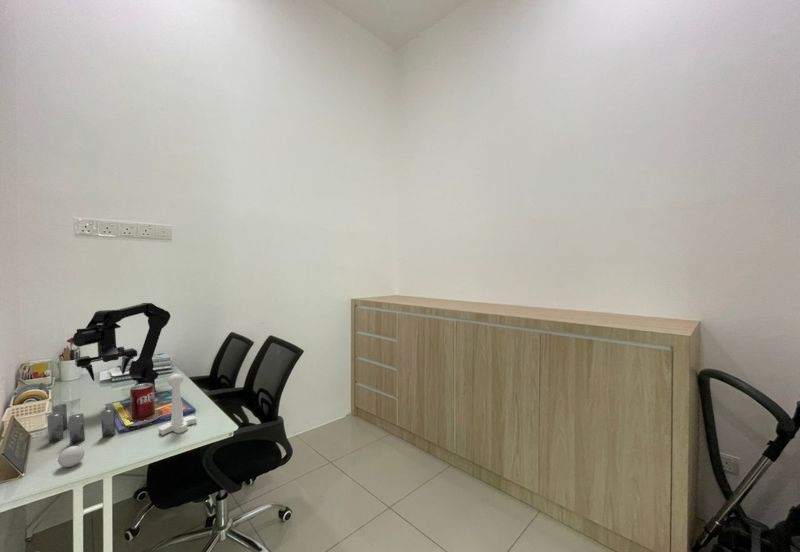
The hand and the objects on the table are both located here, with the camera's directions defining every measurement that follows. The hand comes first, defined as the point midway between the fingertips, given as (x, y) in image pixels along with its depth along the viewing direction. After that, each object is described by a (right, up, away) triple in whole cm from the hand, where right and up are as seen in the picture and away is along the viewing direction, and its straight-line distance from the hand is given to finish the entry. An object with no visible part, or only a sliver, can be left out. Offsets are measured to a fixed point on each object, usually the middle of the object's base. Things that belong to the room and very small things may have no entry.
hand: (108, 377), depth 135 cm
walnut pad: (+23, -13, -10) cm, 28 cm away
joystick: (+42, -14, -18) cm, 48 cm away
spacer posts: (+8, -14, -20) cm, 26 cm away
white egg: (+23, -15, -38) cm, 47 cm away
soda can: (+22, -12, -10) cm, 27 cm away
